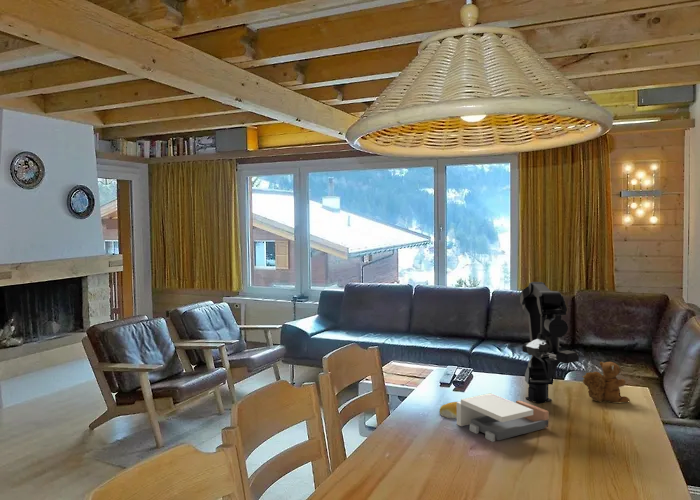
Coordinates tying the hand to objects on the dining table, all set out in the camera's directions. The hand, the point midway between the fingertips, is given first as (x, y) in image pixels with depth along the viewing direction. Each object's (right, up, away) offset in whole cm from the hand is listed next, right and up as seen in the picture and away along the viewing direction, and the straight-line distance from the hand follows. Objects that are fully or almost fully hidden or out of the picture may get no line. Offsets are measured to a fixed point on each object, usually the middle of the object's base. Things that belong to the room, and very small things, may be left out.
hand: (549, 378), depth 187 cm
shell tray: (-16, -13, -11) cm, 24 cm away
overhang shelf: (-21, -13, -14) cm, 28 cm away
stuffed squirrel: (+25, -11, +15) cm, 31 cm away
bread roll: (-31, -13, +2) cm, 33 cm away
